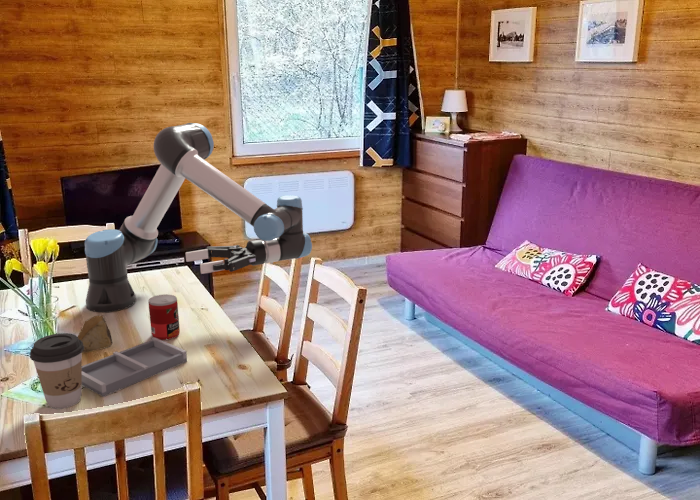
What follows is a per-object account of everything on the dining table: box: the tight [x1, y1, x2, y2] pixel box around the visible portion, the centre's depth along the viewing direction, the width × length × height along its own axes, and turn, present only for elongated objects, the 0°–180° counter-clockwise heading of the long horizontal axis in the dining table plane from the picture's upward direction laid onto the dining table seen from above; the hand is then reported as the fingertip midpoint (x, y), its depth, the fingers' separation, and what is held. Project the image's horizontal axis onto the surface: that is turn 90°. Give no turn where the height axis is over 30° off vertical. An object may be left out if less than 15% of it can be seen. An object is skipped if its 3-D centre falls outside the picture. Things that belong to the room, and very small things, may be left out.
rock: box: [76, 315, 113, 354], centre depth 177 cm, size 11×9×10 cm
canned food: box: [147, 293, 180, 341], centre depth 185 cm, size 8×8×11 cm
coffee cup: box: [29, 332, 84, 410], centre depth 148 cm, size 11×11×15 cm
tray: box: [82, 337, 188, 398], centre depth 165 cm, size 14×24×3 cm, turn 141°
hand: (193, 262), depth 186 cm, fingers open, 13 cm apart
